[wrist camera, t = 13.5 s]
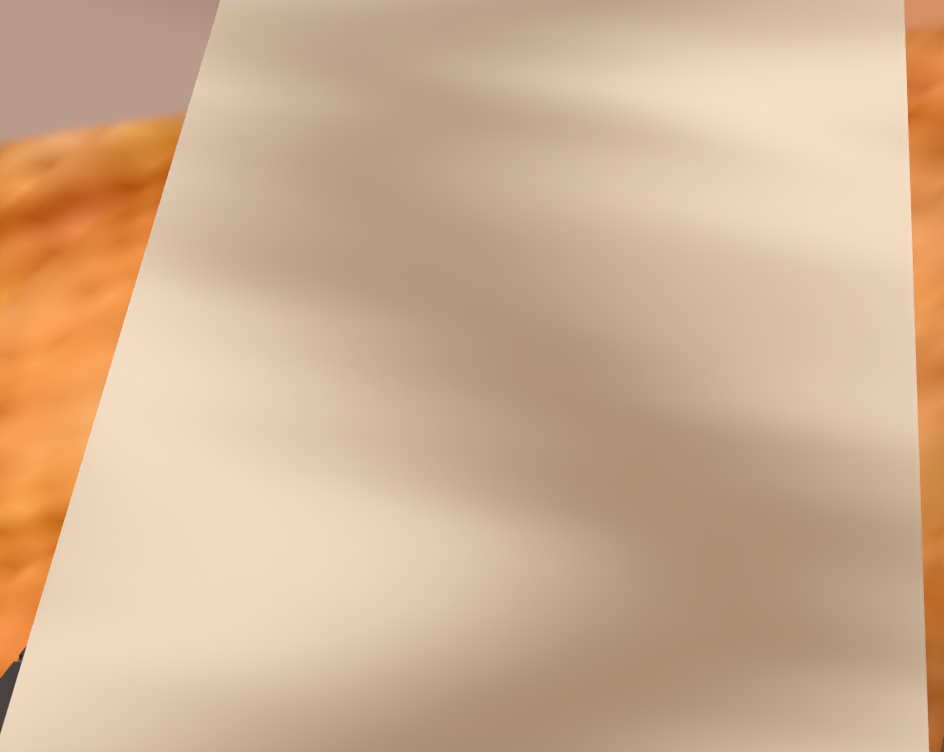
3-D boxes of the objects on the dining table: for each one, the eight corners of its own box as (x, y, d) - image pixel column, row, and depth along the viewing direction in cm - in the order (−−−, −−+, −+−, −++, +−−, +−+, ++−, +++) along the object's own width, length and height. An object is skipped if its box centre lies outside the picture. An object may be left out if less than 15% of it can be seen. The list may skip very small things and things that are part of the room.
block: (904, -4, 8) (975, 2209, 4) (692, 338, 15) (640, 1192, 11) (242, -75, 8) (-351, 1904, 4) (354, 295, 16) (187, 1112, 12)
